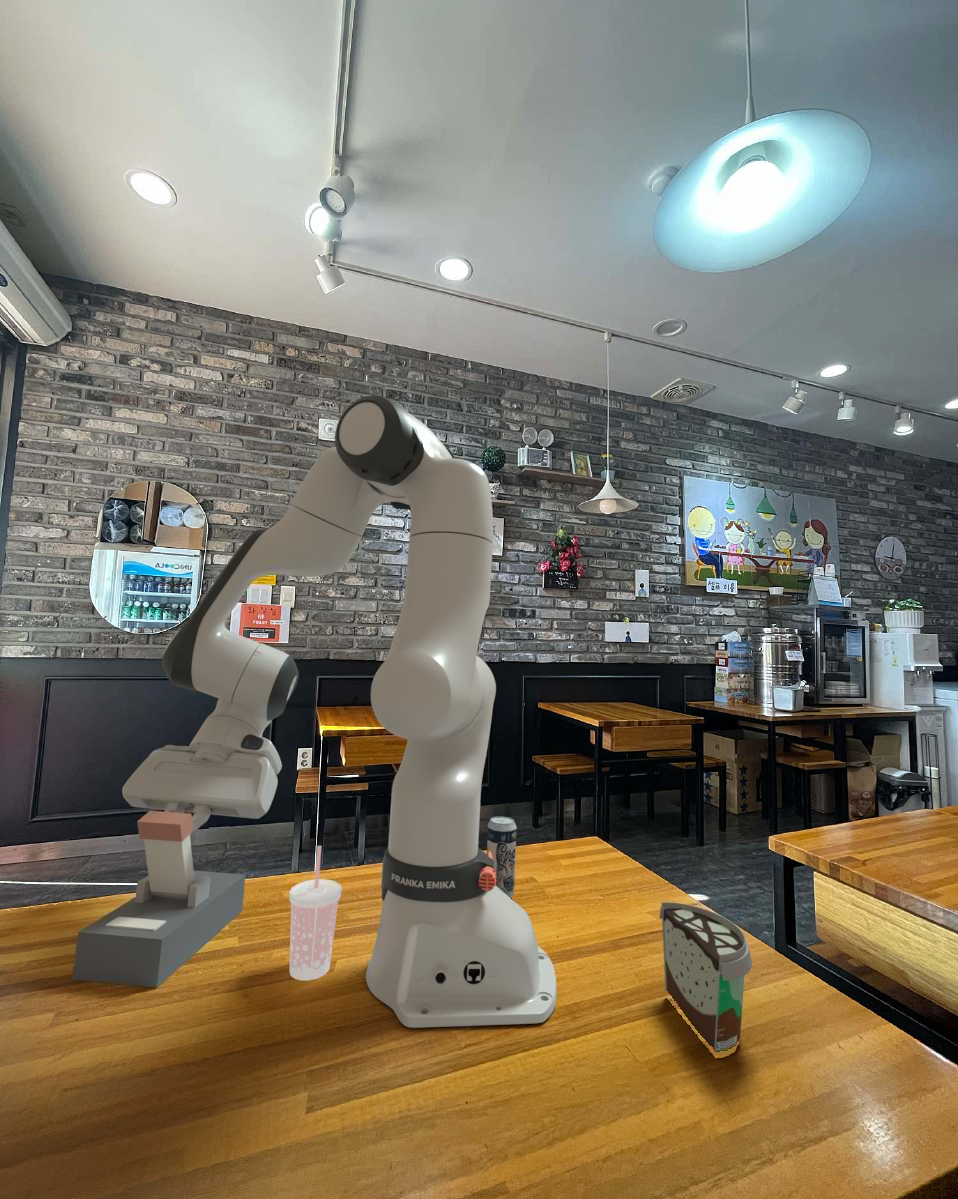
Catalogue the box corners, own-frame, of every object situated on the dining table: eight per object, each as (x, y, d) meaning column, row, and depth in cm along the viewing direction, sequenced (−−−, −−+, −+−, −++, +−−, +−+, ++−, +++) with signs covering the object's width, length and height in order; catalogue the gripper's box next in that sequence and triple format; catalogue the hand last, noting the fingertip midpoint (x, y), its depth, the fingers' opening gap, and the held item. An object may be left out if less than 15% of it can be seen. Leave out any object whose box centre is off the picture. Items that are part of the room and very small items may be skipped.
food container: (783, 1066, 50) (780, 955, 51) (725, 1071, 49) (723, 958, 50) (706, 987, 62) (706, 898, 63) (659, 990, 61) (659, 899, 62)
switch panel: (242, 911, 75) (247, 856, 76) (156, 988, 57) (164, 915, 58) (176, 905, 76) (182, 851, 77) (72, 979, 58) (81, 908, 59)
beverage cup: (335, 951, 66) (343, 836, 67) (337, 980, 60) (346, 853, 62) (283, 958, 64) (294, 839, 66) (281, 988, 58) (292, 857, 60)
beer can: (503, 908, 80) (506, 826, 81) (478, 898, 83) (481, 820, 84) (519, 897, 84) (522, 820, 85) (495, 888, 86) (498, 814, 88)
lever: (199, 891, 68) (191, 813, 66) (189, 904, 66) (180, 824, 64) (159, 888, 69) (149, 810, 66) (147, 900, 66) (137, 821, 64)
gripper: (149, 731, 77) (85, 821, 66) (281, 742, 75) (237, 837, 64) (166, 756, 81) (108, 844, 70) (292, 767, 79) (252, 859, 68)
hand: (171, 841), depth 67 cm, fingers closed, pressing on lever
